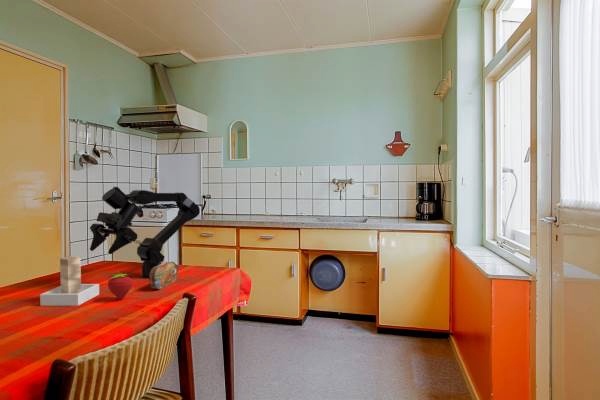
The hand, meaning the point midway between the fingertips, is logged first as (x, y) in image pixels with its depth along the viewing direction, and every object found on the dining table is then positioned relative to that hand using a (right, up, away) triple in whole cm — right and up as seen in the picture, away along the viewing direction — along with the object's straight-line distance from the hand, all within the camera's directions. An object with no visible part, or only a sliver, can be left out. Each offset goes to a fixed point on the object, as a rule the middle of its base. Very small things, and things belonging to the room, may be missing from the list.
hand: (99, 251), depth 125 cm
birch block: (-3, -13, -11) cm, 17 cm away
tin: (+21, -14, +5) cm, 25 cm away
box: (-3, -14, -11) cm, 18 cm away
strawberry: (+13, -14, -11) cm, 22 cm away
